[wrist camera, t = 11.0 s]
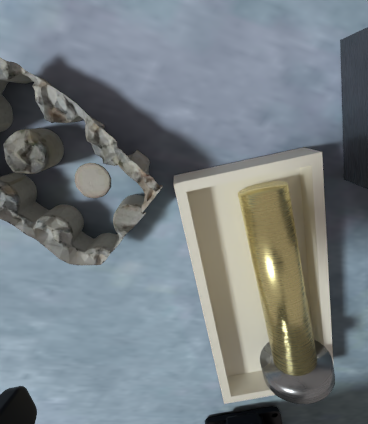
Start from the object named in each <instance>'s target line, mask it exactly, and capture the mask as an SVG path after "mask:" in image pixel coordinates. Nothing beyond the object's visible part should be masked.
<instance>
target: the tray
mask: <svg viewBox="0 0 368 424" xmlns="http://www.w3.org/2000/svg"><path fill="white" fill-rule="evenodd" d="M273 181H284V182H287V183H288V187H289V193H290V199H291V205H292V211H293V217H294V223H295V229H296V235H297V241H298V247H299V253H300V259H301V265H302V271H303V277H304V283H305V289H306V295H307V301H308V307H309V313H310V319H311V325H312V331H313V337H314V339H315V340H316V341H318V342H320V343H321V344H322V345H323V346H325V347H326V349H327V350H328V351H329V353H330V355H331V357H332V361H333V348H332V329H331V310H330V292H329V273H328V254H327V235H326V216H325V197H324V178H323V159H322V152H320V151H316V150H312V149H308V148H299V149H294V150H290V151H285V152H280V153H276V154H271V155H267V156H262V157H257V158H253V159H248V160H243V161H239V162H234V163H229V164H225V165H220V166H216V167H211V168H206V169H202V170H197V171H192V172H188V173H183V174H179V175H174V183H173V184H174V188H175V193H176V197H177V201H178V206H179V210H180V214H181V219H182V223H183V227H184V232H185V236H186V240H187V245H188V249H189V253H190V258H191V262H192V266H193V270H194V275H195V279H196V283H197V288H198V292H199V296H200V301H201V305H202V309H203V314H204V318H205V322H206V327H207V331H208V335H209V340H210V344H211V348H212V353H213V357H214V361H215V366H216V370H217V374H218V379H219V383H220V387H221V392H222V396H223V400H224V404H226V403H232V402H238V401H243V400H249V399H255V398H261V397H266V396H272V395H275V394H274V393H273V392H272V391H271V390H270V389H269V388H268V386H267V385H266V383H265V380H264V377H263V373H262V368H261V364H260V354H261V351H262V349H263V347H264V346H265V345H266V344H267V343H268V342H269V338H268V333H267V329H266V324H265V319H264V315H263V310H262V305H261V300H260V296H259V291H258V286H257V282H256V277H255V272H254V268H253V263H252V258H251V254H250V249H249V244H248V240H247V235H246V230H245V226H244V221H243V216H242V212H241V207H240V202H239V198H238V192H239V191H240V190H242V189H244V188H246V187H249V186H252V185H256V184H260V183H265V182H273Z"/></svg>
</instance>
